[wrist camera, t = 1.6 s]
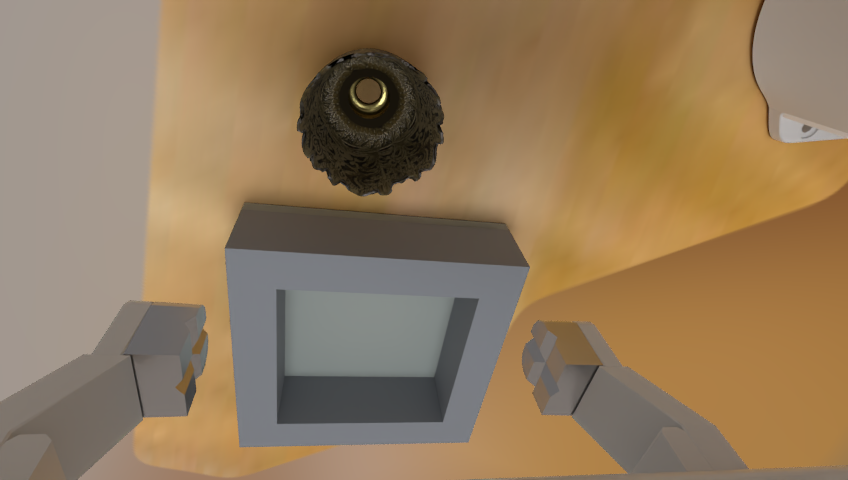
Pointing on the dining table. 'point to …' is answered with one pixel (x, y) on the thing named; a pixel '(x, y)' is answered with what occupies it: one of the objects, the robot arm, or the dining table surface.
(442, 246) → the gray square tray
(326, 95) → the wire cup brush
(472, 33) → the dining table surface
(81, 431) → the robot arm
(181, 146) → the dining table surface
